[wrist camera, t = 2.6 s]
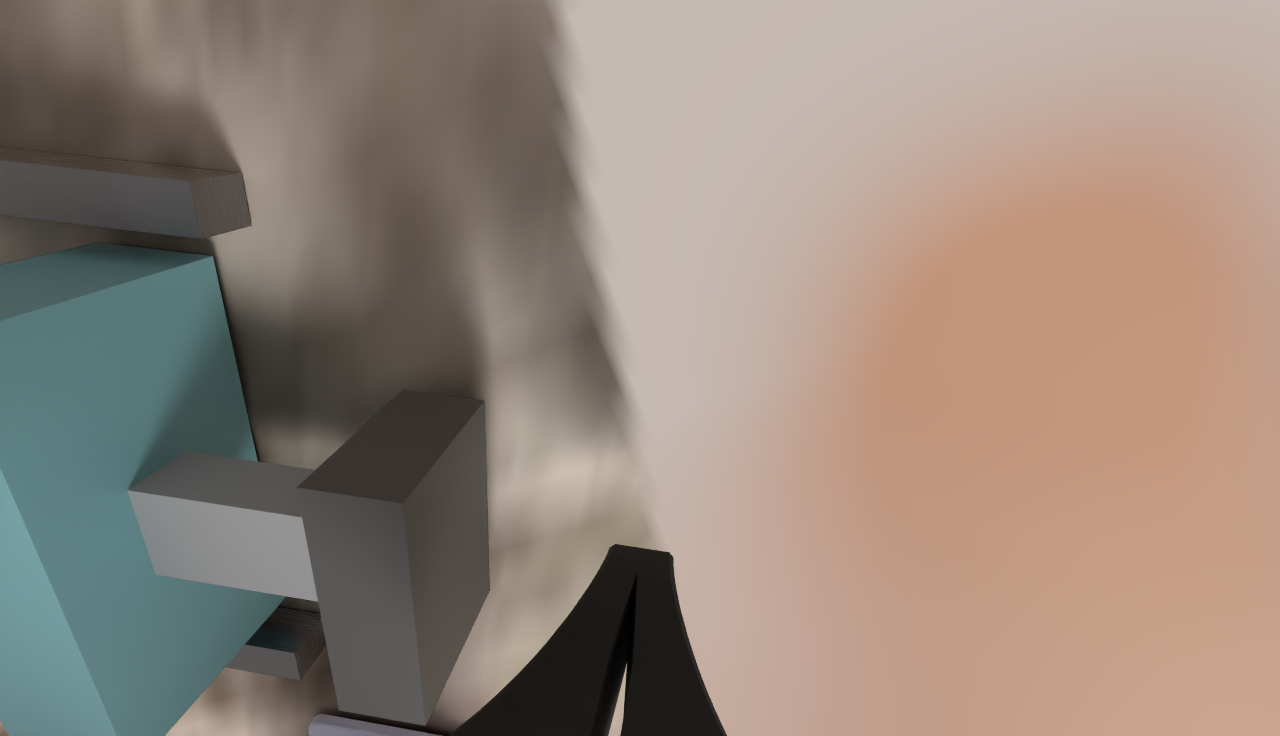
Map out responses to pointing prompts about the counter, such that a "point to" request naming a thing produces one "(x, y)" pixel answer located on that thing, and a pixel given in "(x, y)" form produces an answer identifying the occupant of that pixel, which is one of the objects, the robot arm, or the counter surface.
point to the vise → (166, 208)
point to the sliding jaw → (206, 510)
